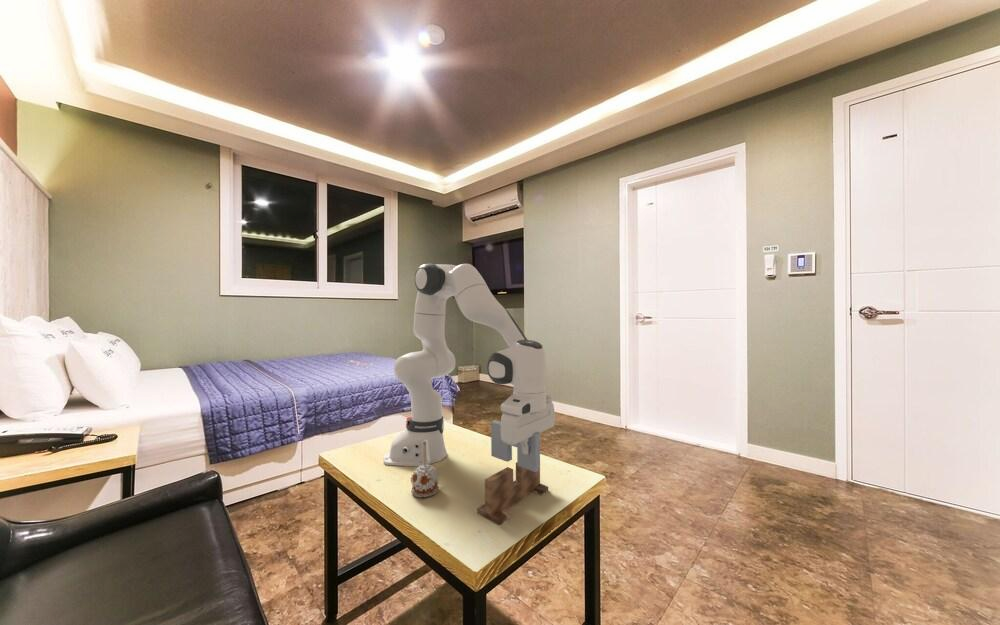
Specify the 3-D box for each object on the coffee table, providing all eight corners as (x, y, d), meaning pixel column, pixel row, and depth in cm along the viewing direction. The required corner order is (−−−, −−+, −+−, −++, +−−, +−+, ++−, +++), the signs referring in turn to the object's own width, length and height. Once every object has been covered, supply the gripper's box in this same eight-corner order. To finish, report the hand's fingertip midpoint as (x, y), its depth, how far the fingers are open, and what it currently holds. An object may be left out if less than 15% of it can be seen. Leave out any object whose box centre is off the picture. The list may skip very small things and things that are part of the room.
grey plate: (540, 469, 96) (539, 432, 95) (535, 472, 94) (535, 434, 94) (495, 453, 106) (495, 420, 106) (491, 455, 105) (491, 422, 105)
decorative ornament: (406, 496, 103) (405, 445, 103) (421, 483, 111) (420, 435, 110) (429, 501, 101) (429, 448, 100) (443, 488, 108) (442, 438, 108)
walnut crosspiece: (499, 524, 89) (499, 485, 89) (477, 512, 95) (476, 475, 95) (548, 490, 106) (548, 457, 106) (526, 482, 111) (526, 450, 111)
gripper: (542, 391, 106) (542, 437, 106) (496, 406, 91) (496, 460, 91) (560, 395, 102) (560, 443, 102) (515, 410, 87) (515, 467, 87)
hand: (530, 451), depth 96 cm, fingers closed on grey plate, 2 cm apart
